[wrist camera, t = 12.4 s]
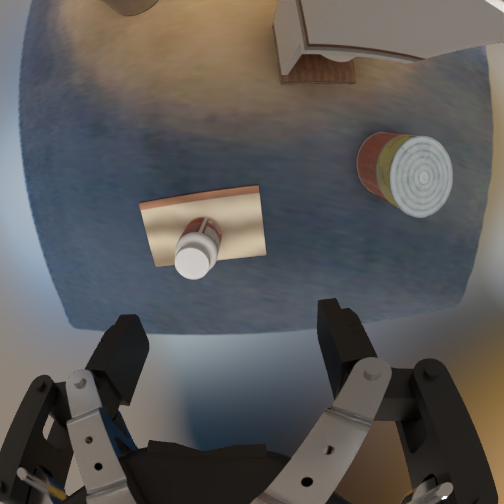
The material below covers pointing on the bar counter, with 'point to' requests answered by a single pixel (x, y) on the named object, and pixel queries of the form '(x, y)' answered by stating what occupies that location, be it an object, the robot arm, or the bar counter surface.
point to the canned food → (406, 171)
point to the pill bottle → (198, 248)
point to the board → (212, 206)
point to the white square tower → (376, 33)
